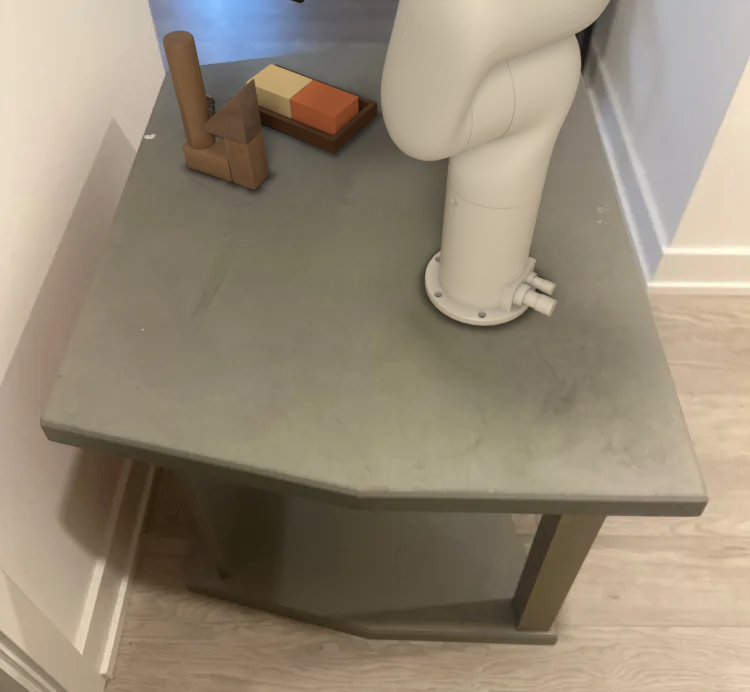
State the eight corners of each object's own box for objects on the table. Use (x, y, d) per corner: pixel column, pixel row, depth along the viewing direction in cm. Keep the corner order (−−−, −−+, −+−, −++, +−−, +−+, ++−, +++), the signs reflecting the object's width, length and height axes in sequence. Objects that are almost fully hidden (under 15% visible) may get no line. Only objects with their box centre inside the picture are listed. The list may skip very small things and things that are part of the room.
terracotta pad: (358, 116, 104) (358, 96, 102) (336, 136, 101) (334, 116, 99) (315, 99, 107) (313, 79, 104) (291, 119, 104) (289, 99, 102)
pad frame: (377, 114, 106) (377, 102, 104) (334, 154, 100) (333, 141, 98) (277, 76, 112) (276, 64, 110) (232, 111, 106) (229, 98, 105)
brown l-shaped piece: (255, 191, 95) (233, 63, 81) (186, 168, 98) (153, 41, 84) (270, 175, 97) (251, 47, 83) (202, 152, 100) (172, 26, 86)
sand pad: (314, 99, 107) (312, 79, 105) (290, 118, 104) (288, 98, 102) (273, 83, 110) (270, 63, 107) (249, 101, 107) (245, 82, 104)
